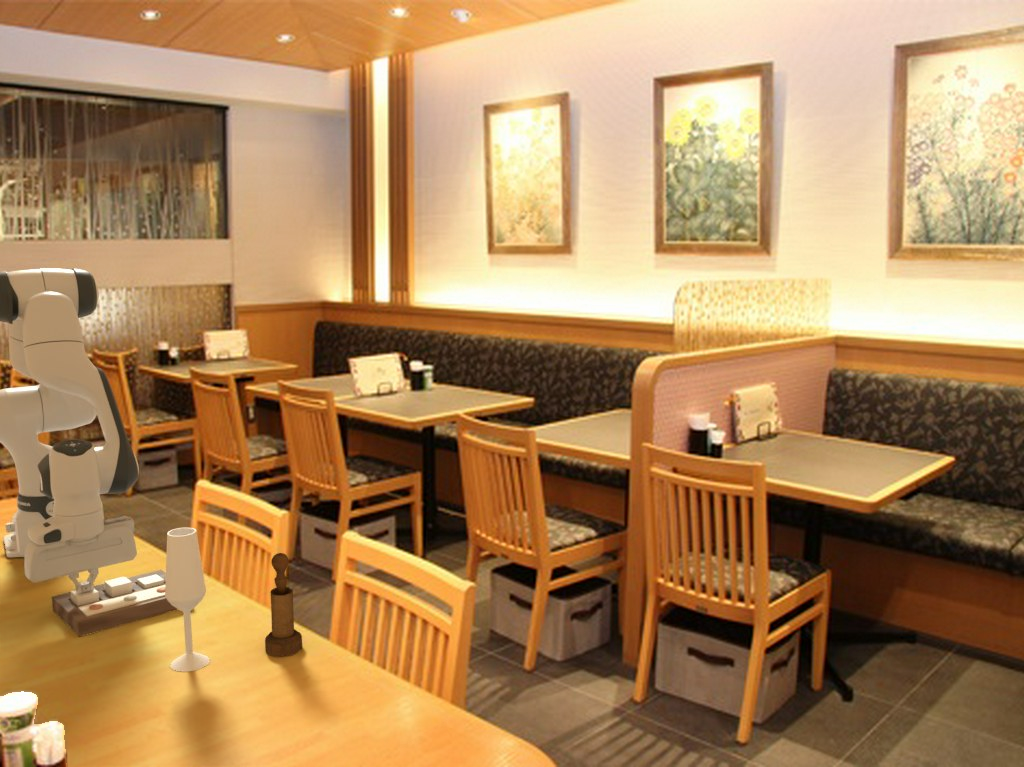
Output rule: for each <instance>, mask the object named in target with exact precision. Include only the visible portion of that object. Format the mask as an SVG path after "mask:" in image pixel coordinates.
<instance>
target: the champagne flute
mask: <svg viewBox="0 0 1024 767" xmlns="http://www.w3.org/2000/svg"><path fill="white" fill-rule="evenodd" d="M166 533H167V534H166V558H165V559H166V560H165V573H166V583H165V597H166V599H167V600H168V602H169V603H170V604H171V605H172V606H174V607H175V608H177V609H178V610H177V611H181V612H182V613H183V614H182V615H183V628H184V629H183V630H184V645H185V653H183V654H181V655H180V656H178V657H177V658H175V659H173V662H172V661H171V663H170V664H171V665H170V664H169V667H170V669H171V670H173V671H175V670H176V672H180V671H181V672H183V673H187V672H194V671H198V670H200V669H203V668H205V667H206V666H208V664H209V663H210V661H211V659H210V657H209V656H207V655H205V654H201V653H199V652H196V651H194V648H193V645H194V644H193V632H192V615H191V612H192V611H193V610H194V609H195V608H196V607H197V606H198V604H200V603H201V602H202V601H203V599H204V597H205V595H206V592H207V588H206V582H205V576H204V570H203V564H202V558H201V551H200V544H199V538H198V532H197V529H196V528H194V527H177V528H174V529H171V530H169V531H167V532H166ZM208 657H209V658H208ZM209 659H210V660H209ZM204 666H205V667H204Z"/></svg>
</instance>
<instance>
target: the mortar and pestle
mask: <svg viewBox="0 0 1024 767" xmlns="http://www.w3.org/2000/svg"><path fill="white" fill-rule="evenodd" d="M289 563H290V560H289V556H288V555H287V554H286V553H284V552H283V553H282V552H279V553H275V554H274V555H273V556H272V558H271V565H272V567H273V569H274V571H275V572H276V575H275V576H276V577H274V584H275V588H273V589H271V590H270V605H271V606H270V610H271V611H270V612H271V631H270V632H269V634H267V635H266V637H264V638H265V639H264V645H265V648H264V650H265V652H266V654H267V655H269V656H272V657H280V658H282V657H290V656H292V655H295V654H297V653H299V652H300V651H302V648H303V635H302V633H301V632H299V631H298V630H297V629H295V620H294V619H295V616H294V589H292V588H291V587H289V586H287V585H288V577H287V576H286V574H285V573H286V571H287V568H288V566H289Z"/></svg>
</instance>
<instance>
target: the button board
mask: <svg viewBox="0 0 1024 767" xmlns="http://www.w3.org/2000/svg"><path fill="white" fill-rule="evenodd" d="M156 574H157V575H158V576H160V577H161V578H162V579H164V584H163V585H165V583H166V571H163V569H158V570H154V571H150V572H146V573H141V574H138V575H134V576H130V577H126V578H127V579H129V580H130V581H131V582H132V591H133V592H131V593H135V592H139V591H143V590H147V589H151V588H155V587H158V586H155V587H151V588H147V589H142V588H141V587H139V586H138V583H137V579H140V578H144V577H148V576H152V575H156ZM159 586H162V585H159ZM94 589H96V590H97V591H98V592H99V601H96V602H100V601H104V600H108V599H112V598H116V597H120V596H123V595H120V596H116V597H112V598H110V597H109V596H108V595H106V594H105V583H100V584H97V585H94ZM131 593H127V594H131ZM127 594H124V595H127ZM96 602H92V603H96ZM92 603H88V604H92ZM51 604H52V606H51V608H52V611H53V613H54V614H55V615H57V617H59V618H60V619H61V620H62V621H63V622H64V623H65V624H66V626H68V628H70V629H71V630H72V631H73V632H74V633H75V634H76V635H77V636H78V637H79V636H80V637H83V635H84V636H87V634H88V635H90V633H91V634H94V632H95V633H98V632H101V630H102V631H105V629H106V630H109V629H113V628H115V627H120V626H123V625H127V624H131V623H134V622H137V621H141V620H145V619H149V618H153V617H156V616H159V615H163V614H167V613H170V611H171V612H174V611H178V610H177V608H175V607H174V606H172V605H171V604H170V603H169V602H168V600H167V599H166V597H165V596H163V597H159V598H155V599H152V600H148V601H144V602H140V603H137V604H133V605H129V606H125V607H121V608H118V609H114V610H110V611H106V612H102V613H99V614H95V615H91V616H86V615H85V614H84V613H83V612H82V611H80V610H79V609H78V607H81V606H84V605H81V606H77V607H76V606H75V605H74V604H73V603H72V601H71V591H68V592H65V593H61V594H57V595H52V596H51ZM88 604H85V605H88ZM97 631H98V632H97Z"/></svg>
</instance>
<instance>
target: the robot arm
mask: <svg viewBox="0 0 1024 767" xmlns="http://www.w3.org/2000/svg"><path fill="white" fill-rule="evenodd" d="M96 282H97V281H96V280H95V277H94V275H92V273H90V272H89V271H88V270H84V269H81V268H72V269H67V268H53V267H52V268H51V267H50V268H49V267H46V268H45V267H43V268H42V267H39V268H35V269H33V268H32V269H21V270H12V271H7V270H1V271H0V322H2V323H8V348H9V349H8V350H9V353H8V355H9V363H10V366H12V368H13V369H14V370H15V371H16V372H17V373H19V374H20V375H23V376H24V377H27V378H30V379H33V380H34V381H35V382H36V383H37V384H36V385H30V386H29V385H28V386H17V387H8V388H7V387H6V388H2V389H0V444H1V445H2V446H3V447H5V449H6V450H7V451H8V453H9V454H10V455H11V458H12V460H13V462H14V466H15V471H16V475H17V476H16V477H17V484H18V493H17V497H16V502H17V505H16V506H17V510H16V512H15V513H14V515H13V516H12V519H11V521H12V522H6V523H5V531H6V533H9V534H6V535H4V536H3V544H5V545H4V550H5V549H6V550H5V554H6V557H7V558H23V559H24V560H23V561H24V562H23V563H24V574H25V577H26V578H27V579H28V580H29V581H30V582H32V583H40V582H44V581H48V580H52V579H53V580H54V579H58V578H61V577H66V576H67V577H68V579H70V581H72V584H74V585H75V586H74V587H75V590H76V593H77V594H81V593H85V592H90V591H93V590H94V586H95V584H94V582H95V581H96V579H97V577H98V576H99V569H100V568H104V567H108V566H115V565H117V564H121V563H122V564H123V563H126V562H130V561H133V560H134V559H135V558H136V556H137V553H138V551H137V544H136V539H135V537H134V533H135V522H134V519H133V518H132V517H131V516H127V515H126V514H125V515H124V514H123V515H118V516H115V517H114V516H113V517H108V518H107V517H106V518H104V507H103V506H104V505H103V503H102V499H101V496H100V495H104V494H123V493H126V492H127V491H129V490H130V489H131V488H132V487H133V486H134V485H135V484H136V482H137V481H138V480H139V473H140V470H139V469H140V467H139V463H138V458H137V457H136V455H135V452H134V450H133V449H132V445H131V443H130V441H129V440H130V439H129V437H128V434H127V432H126V429H125V426H124V422H123V418H122V416H121V413H120V409H119V407H118V403H117V400H116V397H115V395H114V394H115V393H114V391H113V389H112V386H111V383H110V381H109V379H108V376H107V375H106V373H105V371H104V370H103V369H102V368H100V367H97V366H95V365H94V364H93V363H92V361H91V360H90V358H89V356H88V355H87V352H86V350H85V349H86V348H85V342H84V337H83V332H82V326H81V322H80V319H81V318H84V317H88V316H90V315H92V313H94V312H95V311H96V309H97V305H98V302H99V297H100V295H99V294H100V293H99V288H98V284H97V283H96ZM96 417H97V419H98V422H99V424H100V428H101V431H102V435H103V438H104V441H105V443H104V445H101V446H94V443H92V442H91V441H89V440H87V439H81V438H73V439H72V438H71V439H65V440H61V441H59V442H56V443H55V444H54V445H49V444H45V443H43V442H40V441H39V434H42V433H50V432H59V431H65V430H73V429H77V428H79V427H82V426H86V425H89V424H92V423H93V421H94V420H95V419H96ZM83 572H88V573H89V575H88V577H87V579H86V580H85V581H81V582H79V580H78V579H79V578H80V573H83Z"/></svg>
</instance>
